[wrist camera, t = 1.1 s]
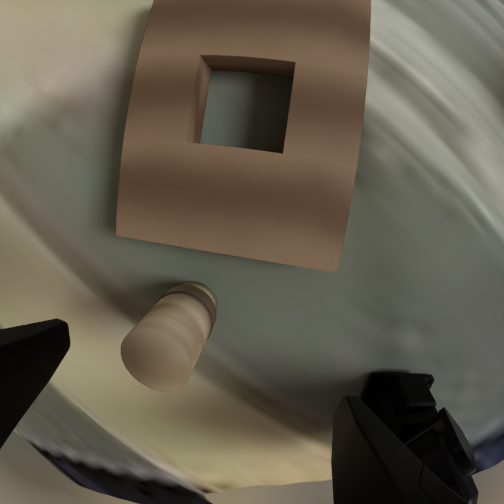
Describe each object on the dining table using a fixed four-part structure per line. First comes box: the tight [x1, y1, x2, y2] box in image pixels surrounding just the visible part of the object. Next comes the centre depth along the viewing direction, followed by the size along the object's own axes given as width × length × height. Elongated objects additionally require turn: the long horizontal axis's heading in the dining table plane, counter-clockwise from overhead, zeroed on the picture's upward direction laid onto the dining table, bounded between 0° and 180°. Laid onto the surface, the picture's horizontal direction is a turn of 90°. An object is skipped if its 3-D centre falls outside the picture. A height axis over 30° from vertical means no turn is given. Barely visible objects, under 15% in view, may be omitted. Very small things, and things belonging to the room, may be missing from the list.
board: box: [116, 0, 371, 273], centre depth 17 cm, size 18×14×3 cm
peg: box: [121, 281, 217, 391], centre depth 19 cm, size 4×4×8 cm
